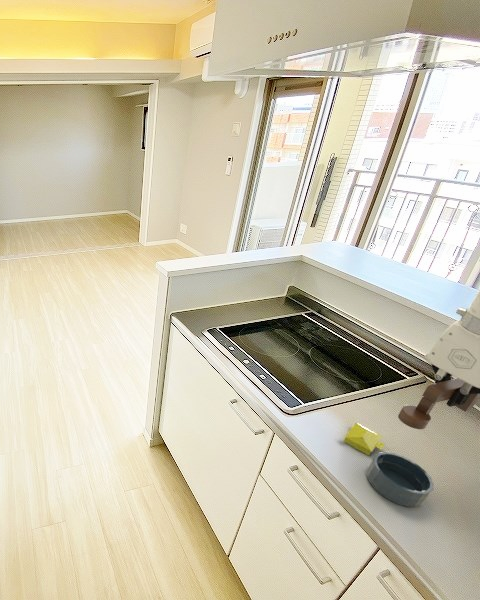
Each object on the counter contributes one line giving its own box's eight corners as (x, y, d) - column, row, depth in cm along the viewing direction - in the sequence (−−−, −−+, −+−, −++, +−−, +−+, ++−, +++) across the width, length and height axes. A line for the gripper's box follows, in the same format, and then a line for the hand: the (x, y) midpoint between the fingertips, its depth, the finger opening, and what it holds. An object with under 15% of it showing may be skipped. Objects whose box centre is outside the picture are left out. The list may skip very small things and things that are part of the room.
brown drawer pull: (414, 431, 68) (434, 399, 64) (392, 415, 72) (410, 384, 67) (477, 414, 71) (500, 382, 67) (453, 400, 75) (473, 369, 70)
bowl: (391, 463, 77) (400, 449, 75) (435, 504, 68) (447, 489, 66) (354, 469, 76) (362, 455, 74) (394, 511, 67) (405, 497, 65)
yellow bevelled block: (349, 421, 88) (353, 413, 87) (392, 443, 81) (397, 436, 80) (333, 440, 83) (337, 432, 82) (379, 466, 76) (384, 458, 75)
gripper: (426, 308, 67) (391, 378, 75) (539, 354, 53) (480, 433, 62) (455, 303, 68) (416, 372, 77) (572, 347, 54) (509, 425, 63)
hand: (445, 399), depth 69 cm, fingers closed on brown drawer pull, 2 cm apart
